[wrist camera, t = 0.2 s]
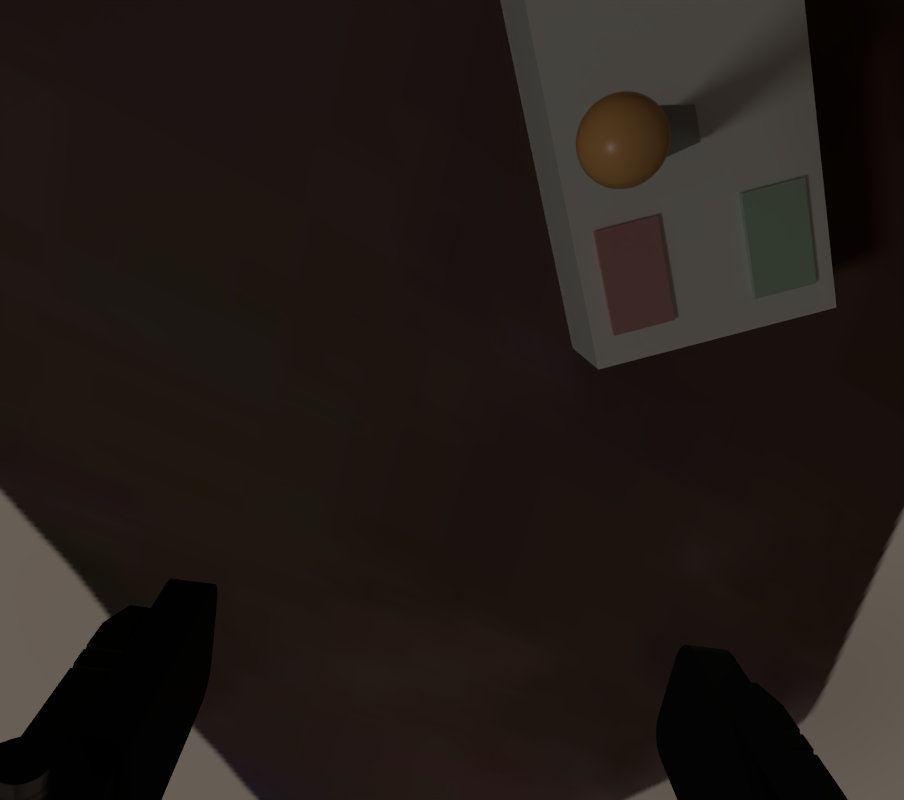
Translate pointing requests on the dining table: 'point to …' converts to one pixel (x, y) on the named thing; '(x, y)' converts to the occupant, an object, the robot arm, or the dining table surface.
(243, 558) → the dining table surface
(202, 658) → the robot arm
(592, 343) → the box
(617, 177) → the breaker lever
